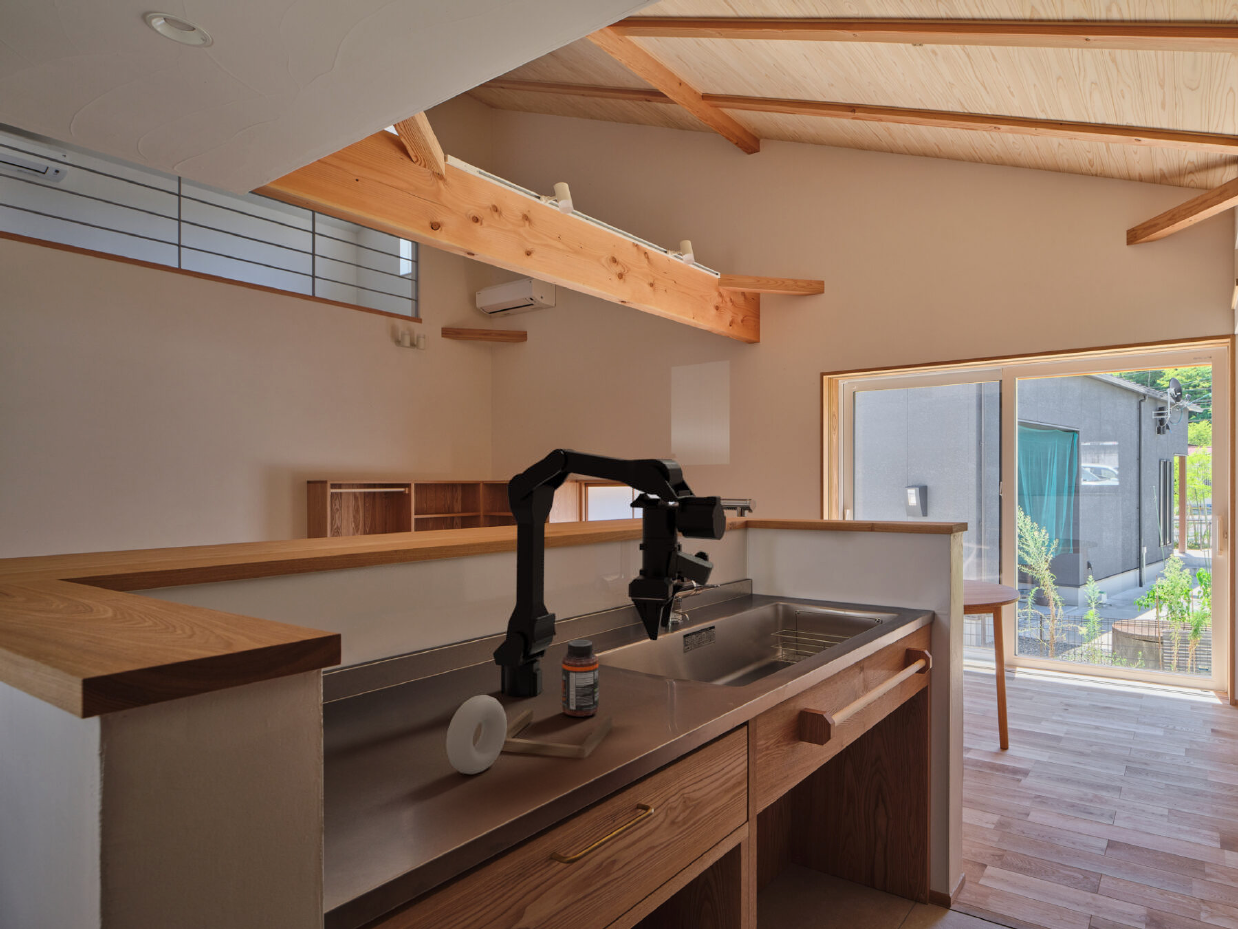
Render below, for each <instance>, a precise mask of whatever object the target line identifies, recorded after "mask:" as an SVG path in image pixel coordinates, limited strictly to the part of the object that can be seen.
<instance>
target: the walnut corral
mask: <svg viewBox="0 0 1238 929" xmlns="http://www.w3.org/2000/svg"><path fill="white" fill-rule="evenodd" d="M533 720H534V709H531V708H527V709H526V710H525V711H522V713H521V714H520V715H518V716H517V717H516V718H515V719H514V720H512V721H511V722H510V723H509V724H507V731H506V738H505V741H504V744H503V747H502V749H501V751H502V752H503V751H504V752H511V753H523V754H532V755H542V756H551V757H552V756H555V757H563V758H564V757H565V758H576V759H586V758H587V757H589V755H590V754H591V753H592V752H593V751H594V749H595V748H596V747H597V746H598V745H599V744H600V742H601V741H602V740H603V739H604V738H605V737H606V735H607V734H608V733H609V732H610V731H611V730H612V728H613V717H611V716H610V717H608V716H606V717H604V719H602V721H601V722H600V723H599V724H598V726H597V727H596V728H595V729H594V730H593V731H592V733H590V734H589V736H588V737H587V738H586V739H585V740H584V742H583V743H582V744H581V745H576V744H575V745H574V744H566V743H560V742H559V743H558V742H548V741H541V740H531V739H523V738H522V739H521V738H514V737H515V736H516V735H517V734H518V733H519V732H521V731H522V730H523V729H524V728H525V727H526V726H527V725H528V724H529V723H531V722H532V721H533ZM501 751H500V752H501Z"/></svg>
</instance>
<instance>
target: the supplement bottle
mask: <svg viewBox="0 0 1238 929" xmlns="http://www.w3.org/2000/svg"><path fill="white" fill-rule="evenodd" d="M561 662H562V663H561V681H562V682H561V683H562V684H561V687H562V688H561V689H562V691H561V692H562V694H561V697H562V698H561V706H562V708H561V709H562V711H563V712H564V714H566V715H569V716H571V717H572V716H573V717H589V716H591V715H594V714H596V713H597V712H598V710H599V705H600V704H599V699H600V698H599V692H600V691H599V688H600V687H599V683H600V681H599V679H600V678H599V673H600V672H599V671H600V670H599V669H600V668H599V658H598V656H597V655H596V654H595V653H593V642H592V641H591V640H587V639H574V640H570V641H569V642H568V644H567V653H566V654H564V656H563V657H562V661H561Z"/></svg>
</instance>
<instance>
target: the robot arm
mask: <svg viewBox="0 0 1238 929" xmlns="http://www.w3.org/2000/svg"><path fill="white" fill-rule="evenodd" d="M571 474H575V475H580V476H586V477H591V478H592V477H593V478H597V479H604V480H607V481H609V480H610V481H613V482H614V481H615V482H619V483H621V484H625V485H626V486H627V487H630V488H631V489H633V490H636V491H638V492H640V493H639V494H638V496H637V497H636V498H635V499H634V500H633V501H632V502H631V503H630V504H629V506H630V508H631V509H632V508H633V509H635V508H636V509H642V513H641V515H642V519H641V520H642V526H641V527H642V528H641V529H642V530H641V532H642V535H641V538H642V539H641V540H642V542H640V543H639V545H638V546H639V551H641V568H640V569H639V570H638V576H637V577H635V578H634V579H632V580H631V581H630V583H628V588H627V589H628V593H627V594H628V597H629V598H630V600H631V602H632V603H633V604H634V607H635V608H636V611H637V613H638V616H639V617H640V620H641V622H642V624H643V626H644V629H645V631H646V634H647V636H648V638H649V639H650V640H651V641H658V638H659V632H660V629H661V628H660V627H662V628H668V627H669V624H670V620H671V614H672V612H673V611H672V610H673V606H674V602H675V598H676V595H677V593H679V591H680V590H682V588H684V587H685V585H686V582H687V581H688V580H690V581H692V582H694V583H695V584H696V585H699V586H702V587H705V586H706V585H707V583H708V582H709V579H710V576H711V575H712V571H713V569H714V566H715V564H714V563H713V562H712V561H710V557H709V552H706V551H703V550H701V549H699V551H697V552H696V553H695V554H692V553H687V552H684V551H682V548H683V544H682V543H681V542H680V541H679V539H678V538H679V536H678V534H679V533H680V534H681V535H682V537H684V538H685V539H695V540H697V539H698V540H709V541H711V540H712V541H714V540H715V541H717V540H718V541H720V540H722V539H723V537H724V535H725V531H726V527H727V516H726V515H725V510H724V506H723V505H722V502H721V500H722V499H721V496H720V495H710V496H696V495H695V493H694V491H693V490H692V489H691V487H690V486H689V484H688V483H687V482H686V479H685V478H684V477H683V476H684V472H683V470H682V467H681V466H680V464H679V463H678V462H677V461H676V460H674V459H672V458H643V459H642V458H640V459H637V458H636V459H626V458H621V457H614V456H608V455H601V454H594V453H587V452H584V451H583V452H582V451H578V450H574V449H572V448H555V449H553V450H552V451H550V452H549V453H548V454H547V455H546V456H545V457H543V458H542V459H540V460H539V461H537V462H535V463H534V464H532V465H531V466H529V467H527V468H526V469H525V470H524V471H523V472H520V473H516V474H515V475H513V476H512V478H511V479H510V480H509V481H508V484H507V487H506V489H507V491H506V492H507V501H508V506H509V510H510V513H511V514H512V517H513V518H514V520H515V522H516V578H515V579H516V582H515V584H516V588H515V589H516V590H515V593H516V594H515V596H516V597H515V600H516V601H515V607H514V608H513V611H512V613H511V615H510V617H509V619H508V622H507V626H506V627H507V628H506V633H505V639H504V641H503V642H502V643H501V644H500V645H499V646H498V647H497V648H496V649H495V650H494V651H493V652H492V653H493V654H492V656H493V659H494V663H495V665H496V666H500V694H502V695H505V696H506V697H512V698H527V697H531V698H532V697H537V696H538V695H539V694H540V693H542V692H544V688H543V668H541V667H540V664H541V662H540V661H541V660H540V658H545V655H546V652H547V649H548V648H549V647H550V646H551V645H552V642H553V640H554V637H555V636H557V633H556V632H557V631H556V625H555V624H556V613H555V612H549V611H548V609H547V607H546V605H545V535H546V533H545V530H546V528H545V527H546V522H547V519H548V517H549V515H550V513H551V510H552V508H553V504H554V498H555V493H556V491H557V490H559V488H561V486H563V485H564V484H565V482H566V481H567V479H568V477H569V476H570V475H571ZM649 495H650V496H656V497H650V496H649ZM670 503H678V504H670ZM678 580H680V582H678Z"/></svg>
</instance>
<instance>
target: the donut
mask: <svg viewBox="0 0 1238 929" xmlns="http://www.w3.org/2000/svg"><path fill="white" fill-rule="evenodd" d="M507 723H508V722H507V714H506V712H505V709H504V706H503V705H502V704H501V703H500V702H499V700H497V698H495V697H493V696H490V695H487V694H480V695H475V696H472V697H471V698H469V699H468V700H466V701H465V702H463V703H462V704H461V706H460V707H459V708H458V709H457V710H456V712H455V714H454V715H453V717H452V719H451V721H450V723H449V726H448V729H447V731H446V732H447V734H446V742H445V746H446V754H447V757H448V760H449V763H450V764H451V766H452V767H454V768H455V769H456V771H458V772H460V773H461V774H466V775H470V776H471V775H476V774H478V773H482V772H483V771H485V770H487V769H489V767H490V766H492V764H493V763H494V762H495V761H496V759H497V758H498V757H499V755H500V753H501V749H502V747H503V744H504V741H505V738H506V731H507V726H508V724H507ZM480 724H481V732H480V736H479V738H478V741H477V742H476V743H475V745H474V744H473V743H474V742H473V741H474V735H475V733H476V730H477V728H478V726H479V725H480Z"/></svg>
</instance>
